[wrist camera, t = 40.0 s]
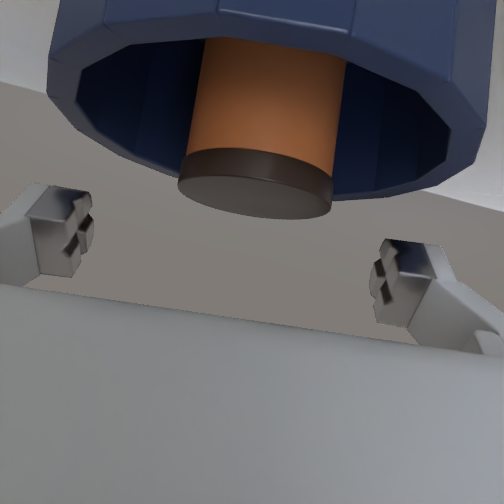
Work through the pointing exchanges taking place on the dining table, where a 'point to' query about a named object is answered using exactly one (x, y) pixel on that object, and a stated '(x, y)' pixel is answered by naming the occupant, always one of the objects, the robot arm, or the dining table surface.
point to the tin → (295, 36)
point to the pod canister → (264, 130)
